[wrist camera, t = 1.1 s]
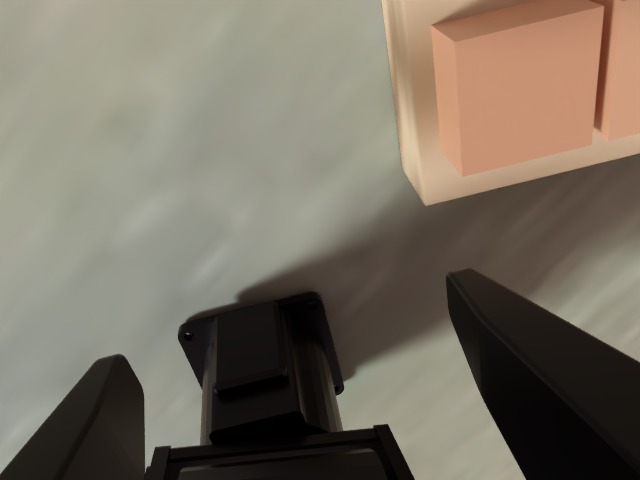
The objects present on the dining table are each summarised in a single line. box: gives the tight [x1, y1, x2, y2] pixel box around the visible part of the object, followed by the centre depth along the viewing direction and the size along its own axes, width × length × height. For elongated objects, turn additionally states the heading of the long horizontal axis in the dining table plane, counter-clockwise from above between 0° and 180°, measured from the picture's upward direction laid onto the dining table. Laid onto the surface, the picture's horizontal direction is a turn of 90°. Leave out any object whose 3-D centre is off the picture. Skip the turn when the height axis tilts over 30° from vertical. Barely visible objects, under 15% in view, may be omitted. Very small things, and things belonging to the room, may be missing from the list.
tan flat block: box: [382, 0, 640, 206], centre depth 18 cm, size 8×9×3 cm
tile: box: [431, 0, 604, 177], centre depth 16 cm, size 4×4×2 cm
